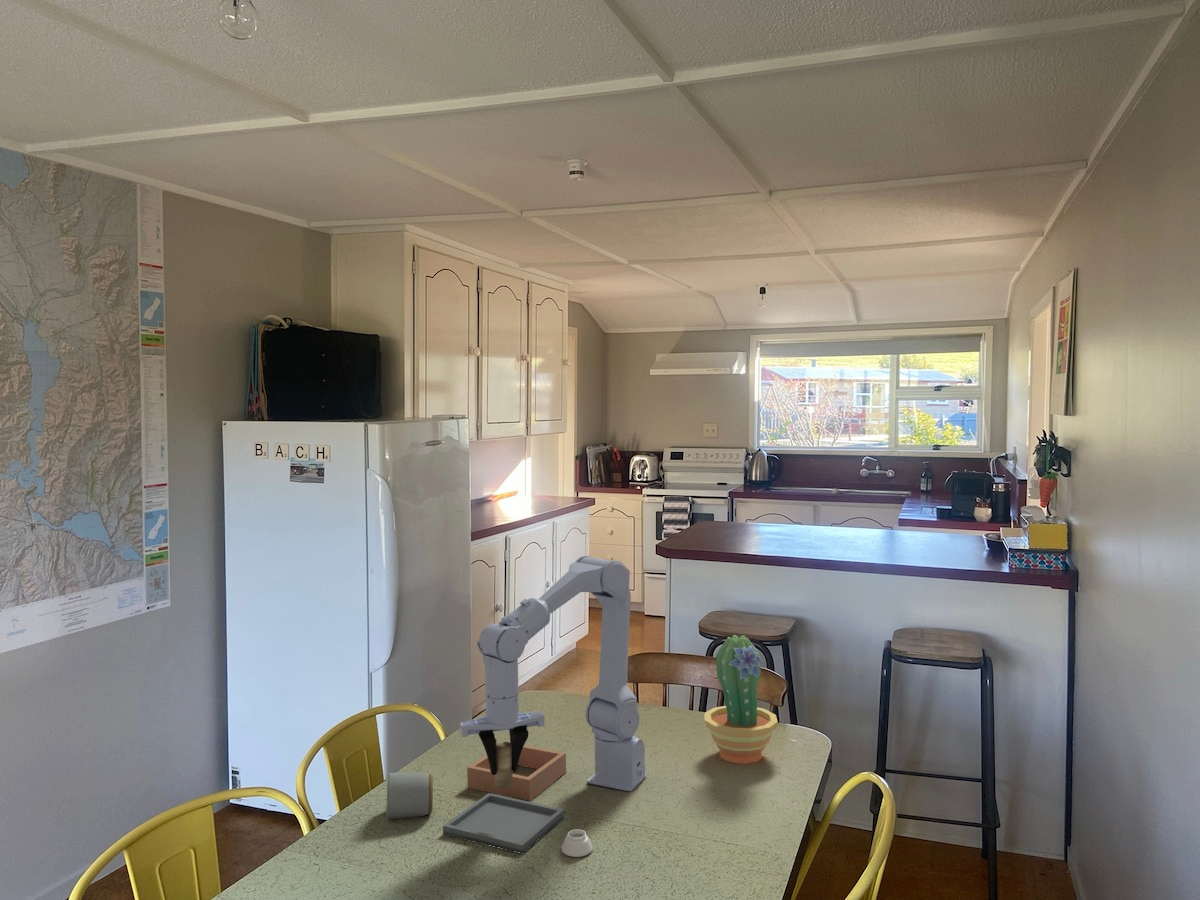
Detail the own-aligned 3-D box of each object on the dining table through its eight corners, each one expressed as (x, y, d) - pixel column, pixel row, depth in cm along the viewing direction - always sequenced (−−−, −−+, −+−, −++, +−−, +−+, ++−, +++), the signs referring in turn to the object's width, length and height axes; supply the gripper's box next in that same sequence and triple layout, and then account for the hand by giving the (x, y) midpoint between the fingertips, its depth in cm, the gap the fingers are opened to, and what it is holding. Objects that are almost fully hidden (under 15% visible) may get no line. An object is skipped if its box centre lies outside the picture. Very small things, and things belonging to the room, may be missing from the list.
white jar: (598, 850, 140) (575, 840, 143) (598, 832, 139) (575, 823, 143) (578, 862, 136) (555, 852, 139) (578, 844, 136) (555, 835, 139)
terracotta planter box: (566, 772, 170) (565, 752, 170) (529, 801, 157) (529, 780, 157) (507, 761, 176) (506, 742, 176) (467, 787, 164) (467, 767, 163)
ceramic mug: (434, 821, 150) (433, 778, 150) (386, 826, 148) (385, 783, 148) (433, 796, 160) (432, 756, 160) (388, 801, 159) (387, 760, 159)
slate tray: (564, 817, 151) (564, 809, 151) (522, 854, 138) (522, 845, 138) (489, 800, 158) (489, 792, 158) (443, 834, 145) (442, 825, 145)
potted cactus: (695, 764, 173) (694, 642, 172) (713, 737, 187) (711, 625, 186) (771, 774, 167) (770, 649, 166) (783, 745, 182) (782, 630, 181)
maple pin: (515, 782, 148) (514, 743, 148) (506, 789, 146) (505, 749, 145) (501, 779, 150) (500, 740, 149) (491, 786, 147) (490, 746, 147)
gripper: (537, 682, 153) (538, 756, 154) (456, 691, 149) (458, 768, 149) (547, 694, 146) (548, 771, 147) (463, 704, 142) (464, 784, 142)
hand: (503, 771), depth 148 cm, fingers closed on maple pin, 3 cm apart
